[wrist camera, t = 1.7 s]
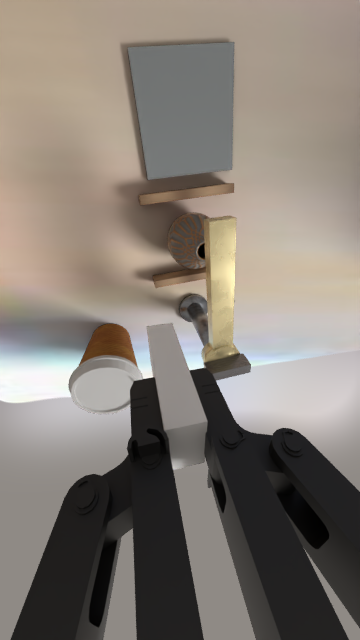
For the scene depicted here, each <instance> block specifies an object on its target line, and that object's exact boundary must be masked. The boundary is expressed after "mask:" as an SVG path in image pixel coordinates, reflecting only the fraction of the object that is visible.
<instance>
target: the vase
mask: <svg viewBox="0 0 360 640" xmlns="http://www.w3.org/2000/svg"><path fill="white" fill-rule="evenodd" d="M204 219H210V218H209V217H207V216H206V215H203V214H200V213H187V214H184V215H182V216H180V217H179V218H177V219H176V220H175V221H174V223H173V224H172V225H171V227H170V229H169V232H168V237H167V243H168V248H169V251H170V253H171V255H172V257H173V258H174V259H175V261H176V262H177V263H179V264H180V265H182V266H184V267H187V268H191V269H199V268H203V267H205V266H206V263H205V240H204Z"/></svg>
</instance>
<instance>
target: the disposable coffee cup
mask: <svg viewBox="0 0 360 640" xmlns="http://www.w3.org/2000/svg"><path fill="white" fill-rule="evenodd" d="M142 379H143V376H142V373H141V372H140V370H139V369H138V367H137V363H136V359H135V355H134V351H133V348H132V344H131V340H130V336H129V333H128V332H127V330H126V329H125V328H123V327H122V326H120V325H117V324H105V325H102V326H100V327H98V328H97V329H96V330H95V331H94V333H93V335H92V337H91V340H90V342H89V344H88V346H87V348H86V351H85V353H84V355H83V357H82V360H81V362H80V364H79V366H78V367H77V368H76V369H75V370H74V372H73V373H72V375H71V377H70V379H69V390H70V393H71V397H72V399H73V402H74V403H75V404H76V405H77V406H78V407H79V408H81V409H83V410H85V411H87V412H90V413H94V414H113V413H117V412H120V411H123V410H125V409H127V408H128V407H130V389H131V386H132V384H133V382H134V381H136V380H142Z"/></svg>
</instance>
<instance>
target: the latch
mask: <svg viewBox="0 0 360 640" xmlns="http://www.w3.org/2000/svg"><path fill="white" fill-rule="evenodd" d="M204 240H205V263H206V286H207V309H208V332H209V342H208V343H207V344H206V345H205V346H204V348H203V350H202V359H203V361H204V368H206V369H207V370H208V371H209V372H210V373H212V374H213V376H214V378H215V380H220V379H224V378H228V377H232V376H236V375H240V374H245V373H249V372H250V369H251V364H250V363H249V361H248V360H247V358H246V357H245V356H244V354H240V353H239V351H238V350H237V348H236V347H235V345H234V344H233V316H234V282H235V247H236V218H235V217H232V216H223V217H217V218H210V219H204Z"/></svg>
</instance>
